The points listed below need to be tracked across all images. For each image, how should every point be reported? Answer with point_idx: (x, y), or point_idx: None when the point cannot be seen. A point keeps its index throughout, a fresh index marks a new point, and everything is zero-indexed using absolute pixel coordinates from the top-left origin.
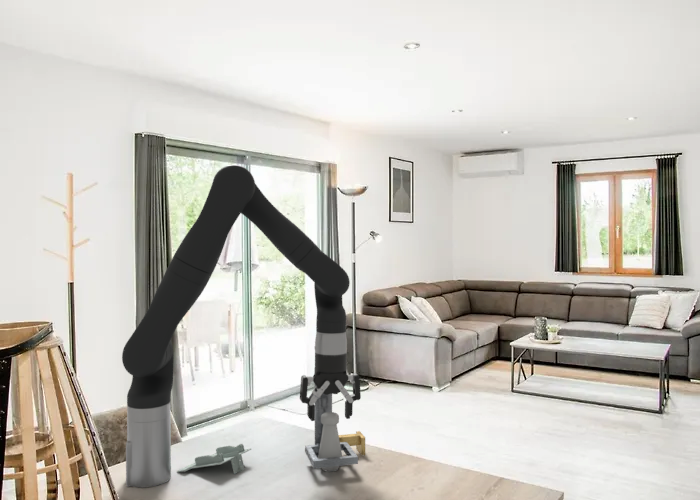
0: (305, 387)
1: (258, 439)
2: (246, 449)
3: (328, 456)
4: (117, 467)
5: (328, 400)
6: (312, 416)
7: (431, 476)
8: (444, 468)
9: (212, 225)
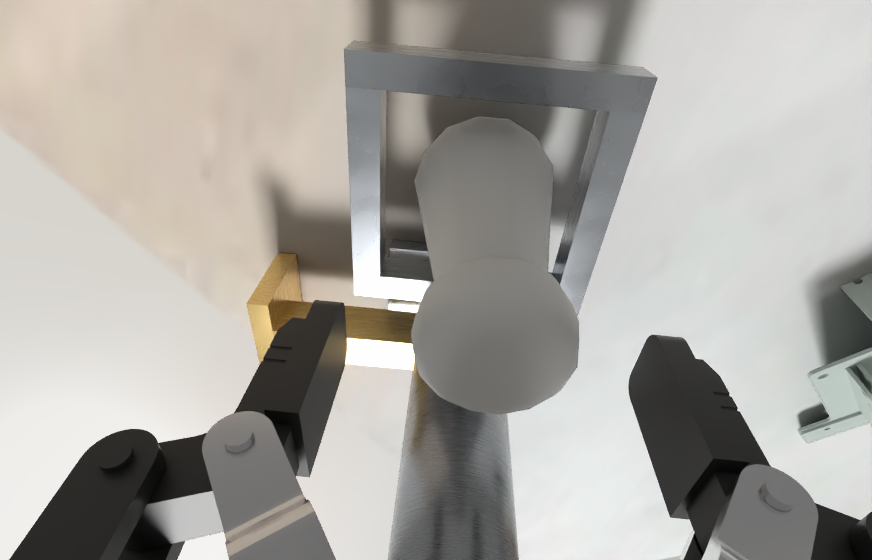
0: None
1: (624, 481)
2: (819, 381)
3: (519, 144)
4: None
5: (430, 550)
6: (691, 362)
7: None
8: None
9: None
